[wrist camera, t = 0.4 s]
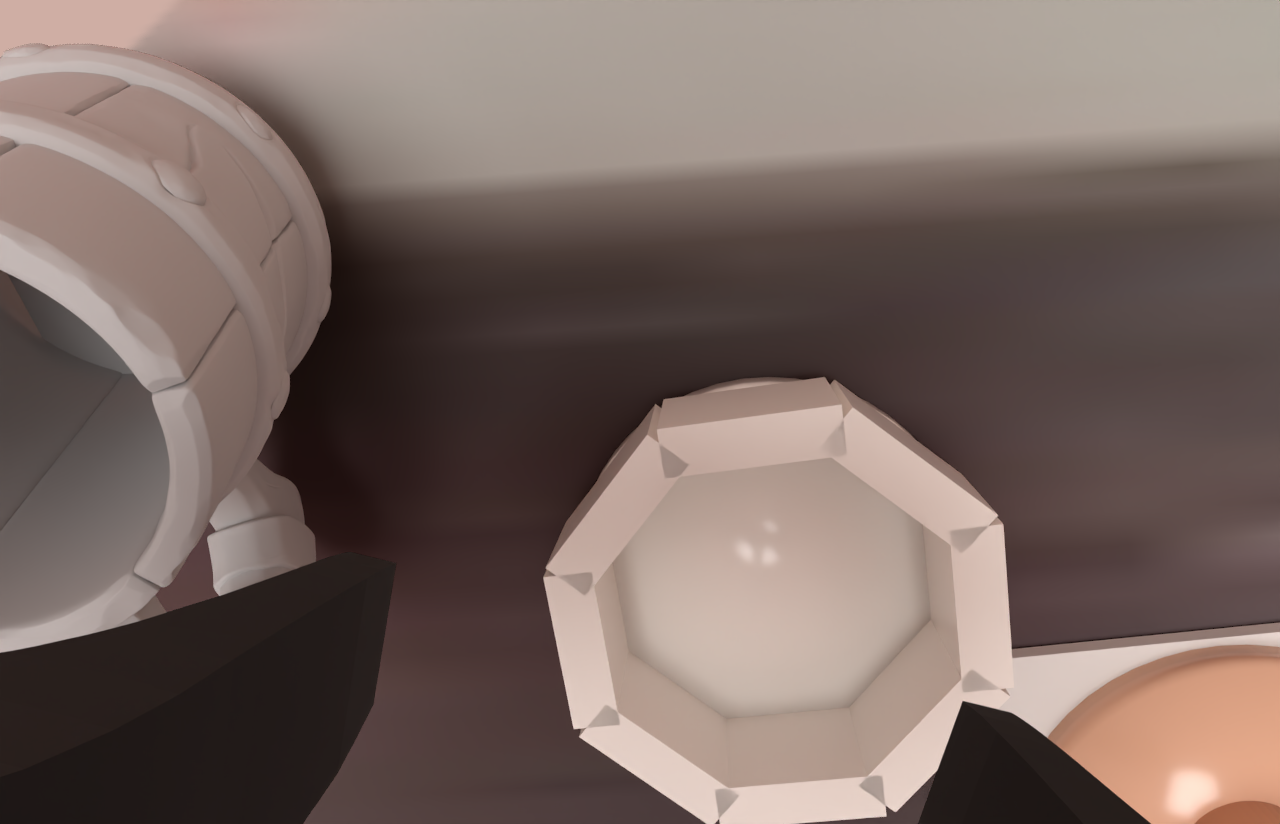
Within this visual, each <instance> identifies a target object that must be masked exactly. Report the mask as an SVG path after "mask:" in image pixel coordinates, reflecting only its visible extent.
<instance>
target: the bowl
mask: <svg viewBox="0 0 1280 824" xmlns="http://www.w3.org/2000/svg"><path fill="white" fill-rule="evenodd" d="M997 516H998V514H997V513H996V512H995V511H994V510H993V509H992V508H991V506H990V505H989V504H988V503H987V502H986V501H985V500H984V499H983V498H982V496H981V495H980V494H979V493H978V492H977V491H976V490H975V489H974V487H973V486H972V485H971V484H970V483H969V482H968V481H967V480H966V478H965V477H964V476H963V475H962V474H961V473H960V472H958V471H957V470H956V469H954V468H953V467H951V466H950V465H949V464H947V463H946V462H945V461H943V460H942V459H941V458H939V457H938V456H937V455H935V454H934V453H933V452H931V451H930V450H929V449H927V448H926V447H925V446H923V445H922V444H921V443H919V442H918V441H916V440H915V439H914V438H913V437H912V436H911V434H910V433H909V432H908V431H907V430H906V429H904V428H903V427H902V426H901V425H900V424H898V423H897V422H896V421H895V420H894V419H893V418H891V417H890V416H889V415H888V414H886V413H884V412H883V411H881V410H880V409H878V408H877V407H875V406H874V405H872V404H871V403H869V402H867V401H865V400H863V399H861V398H859V397H857V396H856V395H855V394H853V393H852V392H851V391H849V390H848V389H847V388H845V387H844V386H843V385H841V384H840V383H838V382H837V381H836V380H833V382H832V383H831V384H830V385H829V383H828V381H827V380H826V378H825V377H821V378H814V379H807V380H801V379H796V378H782V377H758V378H745V379H738V380H733V381H728V382H723V383H718V384H715V385H712V386H709V387H706V388H703V389H700V390H697V391H694V392H692V393H690V394H687V395H685V396H683V397H676V398H669V399H664V400H663V404H662V408H660V407H659V406H657V405H656V404H655V405H654V407H653V408H652V409H651V411H650V412H649V413H648V414H647V416H646V417H645V418H644V420H643V421H642V422H641V424H640V425H639V426H638V427H637V428H636V429H635V430H634V431H632V432H631V433H630V434H629V435H628V437H627V438H626V439H625V440H624V441H623V442H622V443H621V445H620V446H619V447H618V448H617V449H616V450H615V452H614V453H613V455H612V456H611V458H610V459H609V461H608V462H607V464H606V465H605V467H604V468H603V470H602V471H601V473H600V476H599V478H598V480H597V482H596V483H595V484H594V486H593V487H592V488H591V490H590V491H589V492H588V494H587V495H586V496H585V498H584V499H583V500H582V502H581V503H580V504H579V506H578V507H577V508H576V509H575V511H574V512H573V513H572V515H571V516H570V517H569V519H568V520H567V521H566V523H565V525H564V527H563V530H562V532H561V534H560V536H559V539H558V541H557V543H556V545H555V548H554V550H553V552H552V554H551V557H550V559H549V561H548V563H547V566H546V569H547V570H546V572H545V575H544V577H543V579H544V584H545V589H546V594H547V599H548V604H549V609H550V614H551V619H552V624H553V629H554V634H555V638H556V643H557V648H558V653H559V658H560V663H561V668H562V673H563V678H564V683H565V688H566V693H567V698H568V703H569V708H570V713H571V718H572V723H573V728H574V729H581V731H580V735H579V737H580V738H581V739H583V740H584V741H586V742H587V743H589V744H590V745H592V746H593V747H595V748H596V749H598V750H599V751H601V752H602V753H604V754H605V755H606V756H608V757H609V758H611V759H612V760H614V761H615V762H617V763H618V764H620V765H621V766H623V767H624V768H626V769H627V770H628V771H630V772H631V773H633V774H634V775H636V776H637V777H639V778H640V779H642V780H643V781H645V782H646V783H648V784H649V785H651V786H652V787H653V788H655V789H656V790H658V791H659V792H661V793H662V794H664V795H665V796H667V797H668V798H670V799H671V800H673V801H674V802H676V803H677V804H678V805H680V806H681V807H683V808H684V809H686V810H687V811H689V812H690V813H692V814H693V815H695V816H696V817H698V818H699V819H700V820H702V821H703V822H705V823H706V824H715V823H716V821H717V820H718V819H719V820H720V824H796V823H809V822H822V821H834V820H847V819H860V818H872V817H885V816H886V807H885V805H886V806H887V807H889V808H890V809H892V810H893V811H894V812H896V811H897V810H898V809H899V808H900V807H901V806H902V805H903V804H904V803H905V802H906V801H907V800H908V799H909V798H910V797H911V796H912V795H913V794H914V793H915V792H916V791H917V790H918V789H919V788H920V787H921V786H922V785H923V784H924V783H925V782H926V781H927V780H928V779H929V778H930V777H931V776H932V775H933V774H934V773H935V772H936V771H937V770H938V767H939V765H940V762H941V759H942V756H943V754H944V751H945V748H946V745H947V743H948V740H949V737H950V734H951V732H952V729H953V726H954V723H955V721H956V718H957V715H958V712H959V710H960V707H961V704H962V701H966V702H970V703H974V704H978V705H982V706H986V707H990V708H995V709H999V708H1000V707H1001V706H1002V705H1003V704H1004V703H1005V702H1006V701H1007V700H1008V699H1009V698H1010V695H1009V693H1008V692H1007V690H1006V688H1014V678H1013V663H1012V647H1011V632H1010V617H1009V602H1008V587H1007V572H1006V557H1005V542H1004V526H1003V523H1002V522H1001V521H1000V520H999V519H998V518H997Z"/></svg>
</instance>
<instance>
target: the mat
mask: <svg viewBox="0 0 1280 824" xmlns="http://www.w3.org/2000/svg"><path fill="white" fill-rule="evenodd" d="M1225 645H1261V646H1275V647H1280V622H1279V623H1269V624H1259V625H1249V626H1239V627H1229V628H1219V629H1209V630H1199V631H1189V632H1179V633H1169V634H1159V635H1149V636H1138V637H1128V638H1118V639H1108V640H1098V641H1088V642H1078V643H1068V644H1058V645H1048V646H1038V647H1028V648H1018V649H1012V663H1013V678H1014V688H1006V690H1007V692H1008V693H1009V695H1010V698H1009V699H1008V700H1007V701H1006V702H1005V703H1004V704H1003V705H1002V706H1001V707H1000V708H999V710H1003V711H1007V712H1011V713H1013V714H1015V715H1016V716H1018V717H1019V718H1021V719H1022V720H1024V721H1025V722H1027V723H1028V724H1030V725H1031V726H1032V727H1034V728H1035V729H1036V730H1038V731H1039V732H1040V733H1042V734H1043V735H1044V736H1046V737H1047V738H1048V736H1049V735H1050V733H1051V732H1052V731H1053V730H1054V729H1055V727H1056V726H1057V725H1058V724H1059V723H1060V722H1061V721H1062V720H1063V719H1064V718H1065V716H1066V715H1067V714H1068V713H1069V712H1070V711H1072V710H1073V709H1074V708H1075V707H1076V706H1077V705H1078V704H1080V703H1081V702H1082V701H1083V700H1084V699H1085V698H1087V697H1088V696H1089V695H1091V694H1092V693H1094V692H1095V691H1097V690H1098V689H1099V688H1101V687H1102V686H1104V685H1105V684H1107V683H1108V682H1110V681H1111V680H1113V679H1115V678H1117V677H1119V676H1121V675H1123V674H1125V673H1127V672H1129V671H1131V670H1133V669H1135V668H1137V667H1139V666H1142V665H1144V664H1147V663H1150V662H1152V661H1155V660H1157V659H1160V658H1163V657H1166V656H1170V655H1174V654H1178V653H1181V652H1185V651H1189V650H1194V649H1201V648H1208V647H1214V646H1225Z"/></svg>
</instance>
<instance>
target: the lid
mask: <svg viewBox="0 0 1280 824" xmlns="http://www.w3.org/2000/svg"><path fill="white" fill-rule="evenodd" d="M1048 739H1049V740H1051V741H1052V742H1053V743H1054V744H1056V745H1057V746H1058V747H1059V748H1061V749H1062V750H1063V751H1064V752H1066V753H1067V754H1068V755H1069V756H1070V757H1072V758H1073V759H1074V760H1075V761H1076V762H1078V763H1079V764H1080V765H1081V766H1082V767H1084V768H1085V769H1086V770H1087V771H1088V772H1090V773H1091V774H1092V775H1093V776H1094V777H1096V778H1097V779H1098V780H1099V781H1100V782H1102V783H1103V784H1104V785H1105V786H1106V787H1108V788H1109V789H1110V790H1111V791H1112V792H1114V793H1115V794H1116V795H1117V796H1118V797H1120V798H1121V799H1122V800H1123V801H1124V802H1126V803H1127V804H1128V805H1129V806H1130V807H1132V808H1133V809H1134V810H1135V811H1136V812H1138V813H1139V814H1140V815H1141V816H1142V817H1144V818H1145V819H1146V820H1147V821H1149V822H1150V823H1151V824H1280V647H1275V646H1261V645H1225V646H1214V647H1208V648H1201V649H1194V650H1189V651H1185V652H1181V653H1178V654H1174V655H1170V656H1166V657H1163V658H1160V659H1157V660H1155V661H1152V662H1150V663H1147V664H1144V665H1142V666H1139V667H1137V668H1135V669H1133V670H1131V671H1129V672H1127V673H1125V674H1123V675H1121V676H1119V677H1117V678H1115V679H1113V680H1111V681H1110V682H1108V683H1107V684H1105V685H1104V686H1102V687H1101V688H1099V689H1098V690H1097V691H1095V692H1094V693H1092V694H1091V695H1089V696H1088V697H1087V698H1085V699H1084V700H1083V701H1082V702H1081V703H1080V704H1078V705H1077V706H1076V707H1075V708H1074V709H1073V710H1072V711H1070V712H1069V713H1068V714H1067V715H1066V716H1065V718H1064V719H1063V720H1062V721H1061V722H1060V723H1059V724H1058V725H1057V726H1056V727H1055V729H1054V730H1053V731H1052V732H1051V733H1050V735H1049V736H1048Z"/></svg>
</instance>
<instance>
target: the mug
mask: <svg viewBox="0 0 1280 824" xmlns="http://www.w3.org/2000/svg"><path fill="white" fill-rule="evenodd" d="M330 282H331V246H330V240H329V235H328V232H327V228H326V222H325V218H324V215H323V211H322V209H321V206H320V203H319V201H318V198H317V196H316V193H315V191H314V189H313V187H312V185H311V183H310V181H309V179H308V177H307V175H306V174H305V172H304V170H303V168H302V167H301V165H300V164H299V162H298V161H297V159H296V158H295V156H294V155H293V153H292V152H291V151H290V149H289V148H288V147H287V145H286V144H285V143H284V142H283V140H282V139H281V138H280V137H279V136H278V135H277V134H276V132H275V131H274V130H273V129H272V128H271V127H270V126H269V125H268V124H267V123H266V122H265V121H264V120H263V119H262V118H261V117H260V116H259V115H258V114H256V113H255V112H254V111H253V110H252V109H251V108H249V107H248V106H247V105H246V104H244V103H243V102H242V101H241V100H239V99H238V98H237V97H235V96H234V95H232V94H231V93H229V92H228V91H226V90H225V89H223V88H222V87H220V86H219V85H217V84H215V83H213V82H212V81H210V80H208V79H206V78H205V77H203V76H201V75H199V74H197V73H195V72H192V71H190V70H188V69H186V68H184V67H182V66H179V65H177V64H175V63H172V62H170V61H167V60H164V59H161V58H159V57H155V56H152V55H149V54H145V53H142V52H138V51H133V50H129V49H124V48H118V47H112V46H103V45H94V44H65V45H55V46H48V45H44V44H26V45H22V46H19V47H15V48H12V49H9V50H6V51H5V52H4V53H3V55H2V57H0V653H1V652H7V651H13V650H18V649H23V648H29V647H34V646H38V645H43V644H47V643H52V642H56V641H61V640H65V639H70V638H74V637H79V636H83V635H88V634H92V633H96V632H100V631H104V630H108V629H112V628H116V627H119V626H123V625H127V624H130V623H134V622H138V621H141V620H144V619H147V618H151V617H154V616H157V615H160V614H163V613H167V612H166V611H165V610H164V608H163V607H162V605H161V604H160V602H159V601H158V599H157V597H156V596H155V594H156V593H157V592H158V591H159V589H160V587H166V586H168V585H169V584H170V583H171V582H172V581H173V580H174V578H175V577H176V575H177V574H178V572H179V571H180V569H181V567H182V566H183V564H184V563H185V561H186V559H187V557H188V555H189V553H190V552H191V551H192V550H193V548H194V547H195V546H196V545H197V543H198V542H199V540H200V538H201V537H202V535H203V533H204V531H205V529H206V527H207V525H208V523H209V521H210V523H211V524H212V525H213V527H214V529H215V531H216V532H215V533H213V534H211V535H209V536H208V538H207V541H208V545H209V550H210V556H211V561H212V568H213V580H214V589H215V591H216V592H217V593H218V594H219V596H221V595H224V594H227V593H230V592H232V591H235V590H238V589H241V588H244V587H247V586H249V585H252V584H255V583H258V582H261V581H263V580H266V579H269V578H272V577H275V576H277V575H280V574H283V573H286V572H288V571H291V570H294V569H297V568H299V567H302V566H305V565H308V564H311V563H314V562H316V545H315V536H314V534H313V532H312V531H311V530H310V529H309V528H308V527H307V526H306V525H305V521H304V512H303V507H302V503H301V498H300V494H299V492H298V489H297V487H296V486H295V485H294V484H293V483H292V482H291V481H290V480H289V479H287V478H285V477H283V476H280V475H277V474H275V473H273V472H272V471H271V470H269V469H268V468H267V467H266V466H265V465H263V464H262V463H261V462H260V461H259V460H258V459H257V457H258V456H259V454H260V452H261V450H262V448H263V446H264V444H265V442H266V440H267V438H268V436H269V435H270V433H271V430H272V426H273V421H274V419H277V418H278V417H279V415H280V413H281V411H282V410H283V408H284V406H285V404H286V401H287V398H288V395H289V391H290V376H289V375H290V374H291V373H292V372H293V371H294V369H295V368H296V367H297V366H298V364H299V363H300V362H301V360H302V359H303V357H304V356H305V354H306V353H307V351H308V349H309V348H310V346H311V344H312V342H313V340H314V338H315V336H316V334H317V332H318V329H319V327H320V324H321V321H322V320H324V318H325V316H326V314H327V312H328V310H329V307H330V303H331V289H330Z"/></svg>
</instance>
